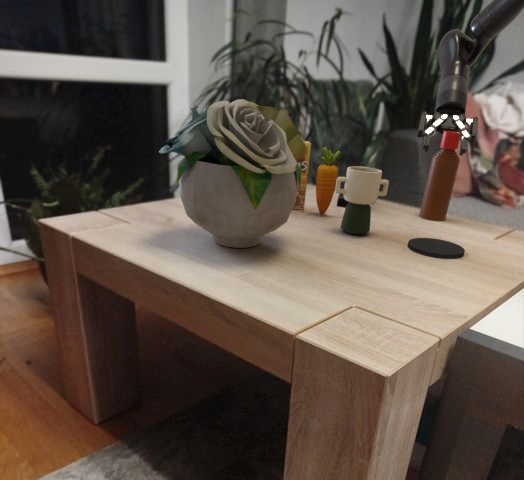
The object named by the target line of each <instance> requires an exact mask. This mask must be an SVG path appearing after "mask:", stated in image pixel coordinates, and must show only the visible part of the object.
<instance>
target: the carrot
mask: <svg viewBox="0 0 524 480" xmlns="http://www.w3.org/2000/svg"><path fill="white" fill-rule="evenodd" d="M321 150H322V153H323V156H322V157H321V160H322V161H323V164H320V165H319V166H318V168H317V171H316V181H315V199H316V200H315V201H316V206H317V209H318V212H319V214H320V216H324V215H325V214H326V212H327V211H328V209H329V207H330V205H331V203H332V200H333V196H334V194H335V187H336V180H337V178H338V174H339V168H338V166H336V165H334V163H335V162H336V160H337V159H338V157H339V156H340V155H341V154H342V153H341V151H340V150H337V151H336V152H335V153H332V151H331V150H330V149H327V147H326V146H325V147H323V148H322V149H321Z"/></svg>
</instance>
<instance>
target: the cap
mask: <svg viewBox="0 0 524 480" xmlns="http://www.w3.org/2000/svg"><path fill="white" fill-rule="evenodd" d="M441 135H442V136H441V140H440V144H439V148H440V149H441V148H444V149H454V150H455V151H457V150H458V148H459V144H460V136H461V133H460V132H454V131H444V132H443V134H441Z"/></svg>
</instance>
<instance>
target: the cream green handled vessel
mask: <svg viewBox="0 0 524 480" xmlns="http://www.w3.org/2000/svg"><path fill="white" fill-rule="evenodd" d="M382 176H383V171H382V170H381V169H379V168H374V167H369V166H361V165H359V166H358V165H356V166H348V167H347V168H346V175H345V176H337V180H336V186H335V191H334V193H336V194H338V195H339V194H344V195H343V196H344V199H345V200H346V201H348V202H349V203H348V204H347V206H346V207H345V209H344V213H343V215H342V219H341V224H340V229H342V230H343V231H345V232H346V233H350V234H355V235H363V234H364V235H365V234H368V233H369V232H370V231H371V217H372V216H371V215H372V213H371V212H372V208H371V205H373V204H376V203H377V201H378V197H386V196H387V195H388V190H389V184H390V181H389V179H383V178H382ZM342 183H344V187H343V188H344V189H341V184H342ZM381 185H383V188H382V190H380V187H381Z"/></svg>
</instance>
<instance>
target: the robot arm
mask: <svg viewBox="0 0 524 480" xmlns="http://www.w3.org/2000/svg"><path fill="white" fill-rule="evenodd" d="M523 10H524V0H492V1H491V2H489V3H488V4H487V5H485V7H484V8H482V10H480V11H479V13H477V14H476V15H475V16H474V17H473V18H472V20H471V22H470V24H469V25H470V27H469V29H470V32H471V35H472V36H473V38H474V39H472V38H471V37H470V36H468V35H467V34H466V33H464V32H463V31H461V30H460V29H457V28H456V29H451V30H449V31H448V32H446V33H445V34H444V36H443V37H442V39H441V40H440V42H439V45H438V50H437V57H438V64H439V70H440V81H439V86H438V89H437V93H436V97H435V106H434V111H433V114H432V115H430V114H428V112H427V111H422V113H421V117H420V121H419V125H418V129H417V133H416V137H417V138H422V139H423V141H422V150H424V153H425V152H426V153H428V152H429V147H430V142H431V138H432V137H435V135H437V134H438V133H439V134H440V135H443V132H444V131H454V132H460V133H461V136H460V140H459V142H460V145H459V146H460V148H459V155H458V156H463V155H464V154H466V152H467V151H468V146H469V143H471V144H473V143H475V141H476V139H477V136H478V128H479V127H478V126H479V117H478V116H473V117H472V118H467V117H466V111H467V103H468V95H469V80H470V68H471V66H473V65H474V64H475V62H476V61H477V60H478V58H479V57H480V55H481V54H482V53H483V51H484V50H485V49H486V48H487V46H488V45H489V43H491V41H492V40H493V39H495V37H497V36H498V35H499V34H500V33H501V32H502V31H503V30H505V29H506V28H507V27H508V26H509V25H511V24H512V22H514V21H515V20H516V19H517V17H518V16H520V14H521V13H522V12H523ZM429 122H430V123H431V125H430V127H428V128H427V129H424V128H425V126H426V125H427V124H429ZM466 126H467V128H468V130H469V132H468V130H467V129H466Z"/></svg>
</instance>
